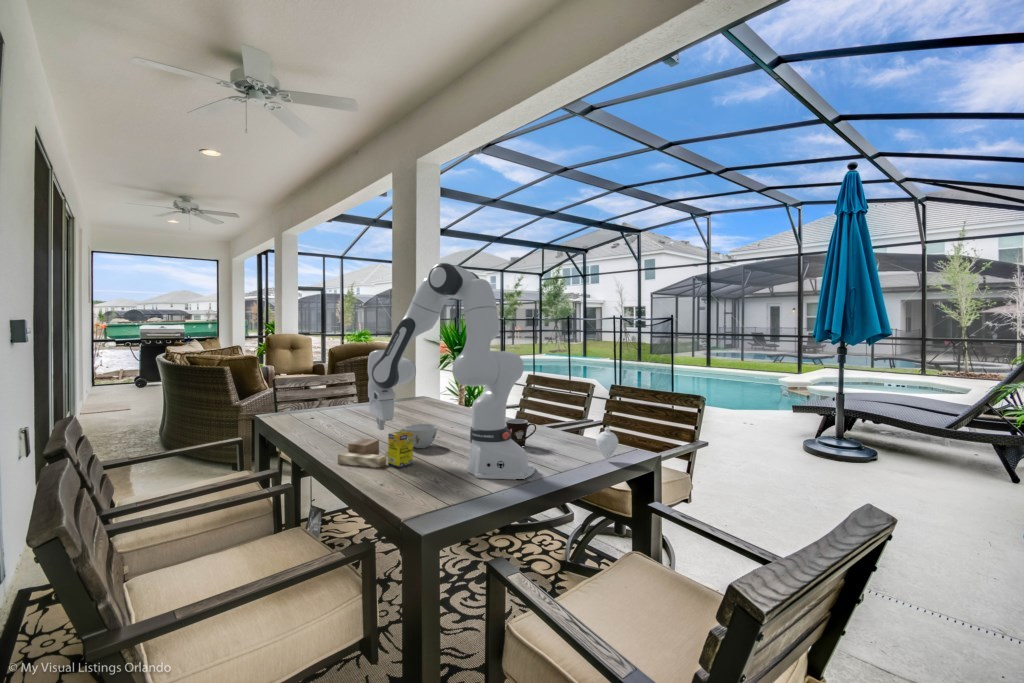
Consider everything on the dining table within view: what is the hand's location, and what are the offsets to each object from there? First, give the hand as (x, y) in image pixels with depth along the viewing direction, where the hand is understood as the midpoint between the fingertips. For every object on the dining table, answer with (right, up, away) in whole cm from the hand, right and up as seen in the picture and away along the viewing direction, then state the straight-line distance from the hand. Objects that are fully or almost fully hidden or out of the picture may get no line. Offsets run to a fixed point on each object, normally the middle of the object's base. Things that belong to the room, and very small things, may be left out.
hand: (380, 429), depth 175 cm
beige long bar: (-2, -9, -16) cm, 18 cm away
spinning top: (+82, -10, -10) cm, 84 cm away
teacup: (+13, -8, +7) cm, 17 cm away
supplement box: (+11, -9, -17) cm, 22 cm away
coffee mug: (+52, -9, +8) cm, 54 cm away
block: (-3, -9, -9) cm, 13 cm away
